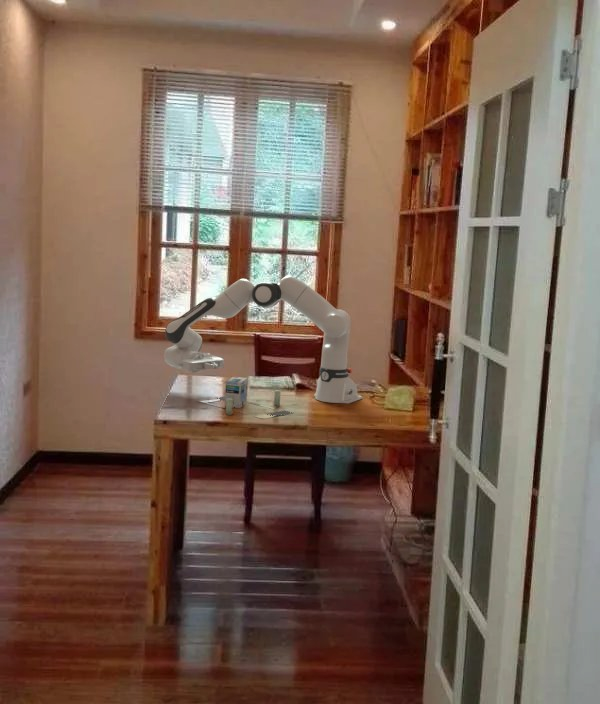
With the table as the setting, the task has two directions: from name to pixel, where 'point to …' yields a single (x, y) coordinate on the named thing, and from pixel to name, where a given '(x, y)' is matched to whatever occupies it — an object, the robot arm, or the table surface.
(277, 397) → the trap lane
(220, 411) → the table surface
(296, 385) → the table surface
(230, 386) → the light bulb box
